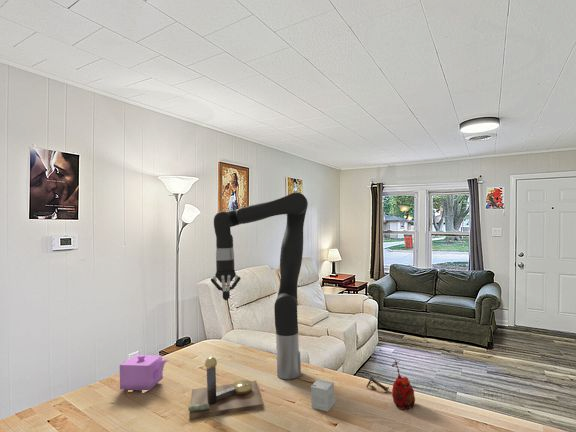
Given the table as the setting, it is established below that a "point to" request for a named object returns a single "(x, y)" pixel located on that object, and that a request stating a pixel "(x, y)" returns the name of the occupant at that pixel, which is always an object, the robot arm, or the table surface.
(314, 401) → the skincare box
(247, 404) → the walnut base
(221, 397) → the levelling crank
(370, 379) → the wooden post with brackets
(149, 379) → the teapot
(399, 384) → the red rounded piece
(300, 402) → the table surface
